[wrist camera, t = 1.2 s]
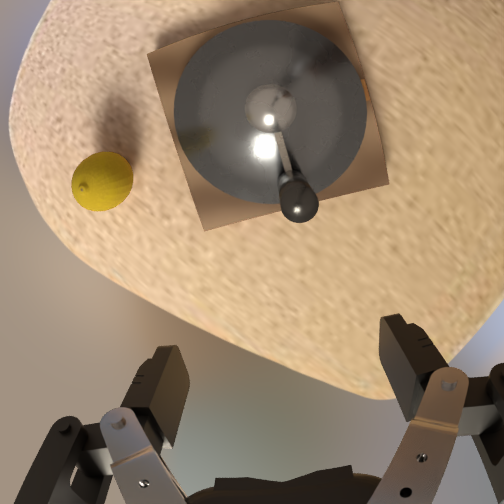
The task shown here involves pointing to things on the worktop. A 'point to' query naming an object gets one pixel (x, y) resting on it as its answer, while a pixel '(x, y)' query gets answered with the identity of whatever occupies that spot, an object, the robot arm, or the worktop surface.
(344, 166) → the handwheel
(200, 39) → the wheel stand
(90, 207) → the lemon
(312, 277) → the worktop surface
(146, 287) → the worktop surface
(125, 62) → the worktop surface
